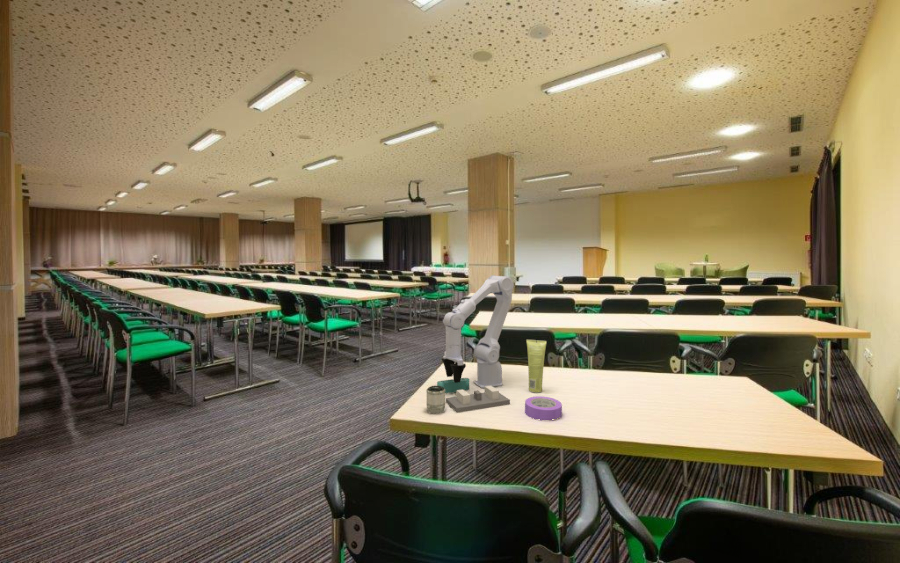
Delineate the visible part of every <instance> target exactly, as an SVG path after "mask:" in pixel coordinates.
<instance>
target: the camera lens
mask: <svg viewBox="0 0 900 563" xmlns="http://www.w3.org/2000/svg"><path fill="white" fill-rule="evenodd" d="M445 408H446V393H445V389H444V388H443V387H441V386H437V385H431V386H429V387H428V388H427V389H426V409H427V412H428V413H429V412H430V414H433V413H435V414H436V413H438V414H442V413H444V412H445V410H446V409H445ZM436 415H437V414H436Z"/></svg>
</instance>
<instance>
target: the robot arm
mask: <svg viewBox="0 0 900 563" xmlns="http://www.w3.org/2000/svg"><path fill="white" fill-rule="evenodd" d="M510 277H511V276H508V275H504V276H502V275H495V274H493V275H490V276H489V277H488V278H486V279H485V281H484V283H483V284H482V285H481V286H480V288H479V289H477V290H476V291H475V293H474V294H473V295H472V296H470V298H465V299H461V301H460V303H459V304H458V305H457V306H456V307H455V308H452V309H451V310H452V311H450V312H449V311H448V312H447V313H446V314H445V315H444V318H443V319H442V323H443V325H444V328H445V351H443V354H444V355H443V356H442V358H441V361H442V363H443V366H444V369H445V375H446V377H447V378H448V377H449V378H450V377H451V378H453V379H454V382H455V383H458V382H460V380H461V378H462V377H463V372H464V370H465V368H466V367H467V365H466V363H464V359H463V356H462V327H463V326H464V324H465V321H466V319H467V318H469V317H470V315H472V314H473V313H474V312H475V311H476V306H477V305H478V304H479V303H480V302H482V300H484V299H485V298H486V297H488V296H489V294H493V295H494V297H495V298H496V303H495V306H494V309H493V312H492V315H491V318H490V321H489V322H488V326H487V328H486V331H485V334H484V336H483V337H481V338H480V339H479V341H478V343H477V345H476V346H474V349H473V355H474V357H475V358H476V362H477V364H476V365H477V366H476V368H477V369H476V370H477V373H476V376H477V378H476V379H477V380H473V383H474V384H475V385H477V386H478V387H480V388H481V389H485V386H492V387H499V386H503V385H504V384H503V369H502V368H503V367H502V364H501V362H500V361H499V358H500V350H501V346H500V344H499V342H498V341H499V338H500V335H501V332H502V331H503V330H502V329H503V326H504V324H505V322H506V318H507V315H508V313H509V309H510V307H511V304H512V301H513V289H514V287H515V285H514V282H513V281H512V280H513V279H512V278H510Z"/></svg>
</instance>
